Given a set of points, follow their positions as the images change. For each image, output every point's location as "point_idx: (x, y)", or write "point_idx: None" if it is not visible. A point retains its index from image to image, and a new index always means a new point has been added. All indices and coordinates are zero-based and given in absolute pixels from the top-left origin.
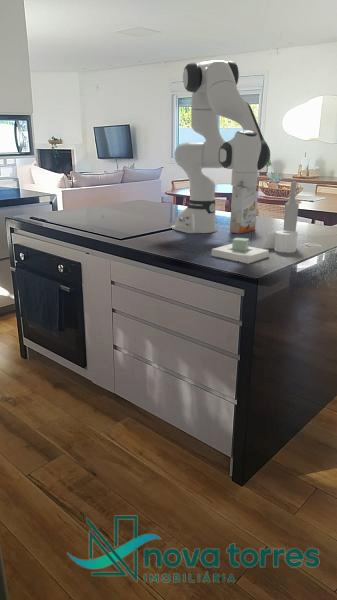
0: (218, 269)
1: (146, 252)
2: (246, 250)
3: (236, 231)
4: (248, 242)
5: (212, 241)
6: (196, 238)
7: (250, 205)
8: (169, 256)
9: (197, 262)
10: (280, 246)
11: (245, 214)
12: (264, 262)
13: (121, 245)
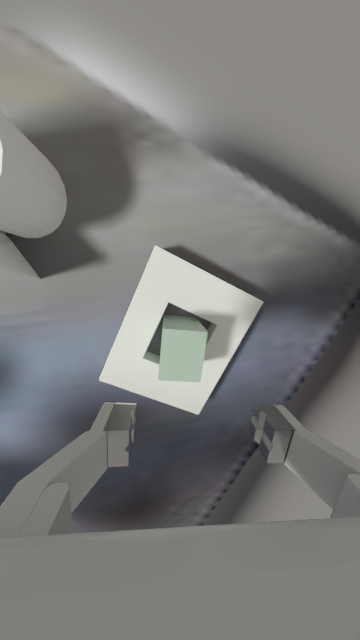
0: (315, 357)
1: (207, 517)
2: (188, 320)
3: None
4: (168, 325)
5: (21, 441)
6: (6, 485)
7: (10, 545)
8: (227, 473)
9: None
10: (51, 203)
11: (125, 441)
12: (228, 255)
13: None
